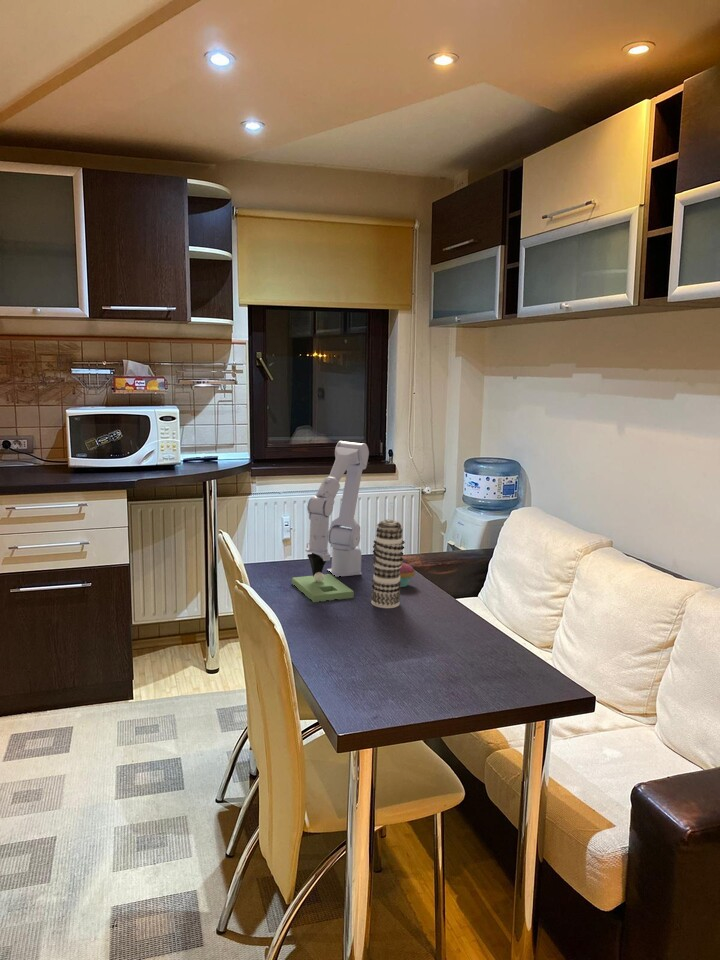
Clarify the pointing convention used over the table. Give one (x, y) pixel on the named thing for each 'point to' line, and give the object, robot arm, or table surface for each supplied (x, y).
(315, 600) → the putting mat
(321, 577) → the ball
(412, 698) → the table surface
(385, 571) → the cream and black cylinder
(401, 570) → the cupcake
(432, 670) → the table surface
